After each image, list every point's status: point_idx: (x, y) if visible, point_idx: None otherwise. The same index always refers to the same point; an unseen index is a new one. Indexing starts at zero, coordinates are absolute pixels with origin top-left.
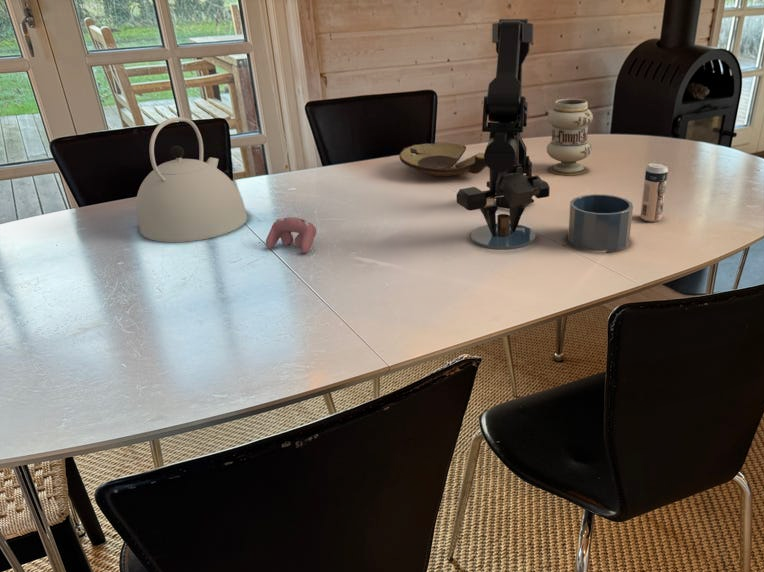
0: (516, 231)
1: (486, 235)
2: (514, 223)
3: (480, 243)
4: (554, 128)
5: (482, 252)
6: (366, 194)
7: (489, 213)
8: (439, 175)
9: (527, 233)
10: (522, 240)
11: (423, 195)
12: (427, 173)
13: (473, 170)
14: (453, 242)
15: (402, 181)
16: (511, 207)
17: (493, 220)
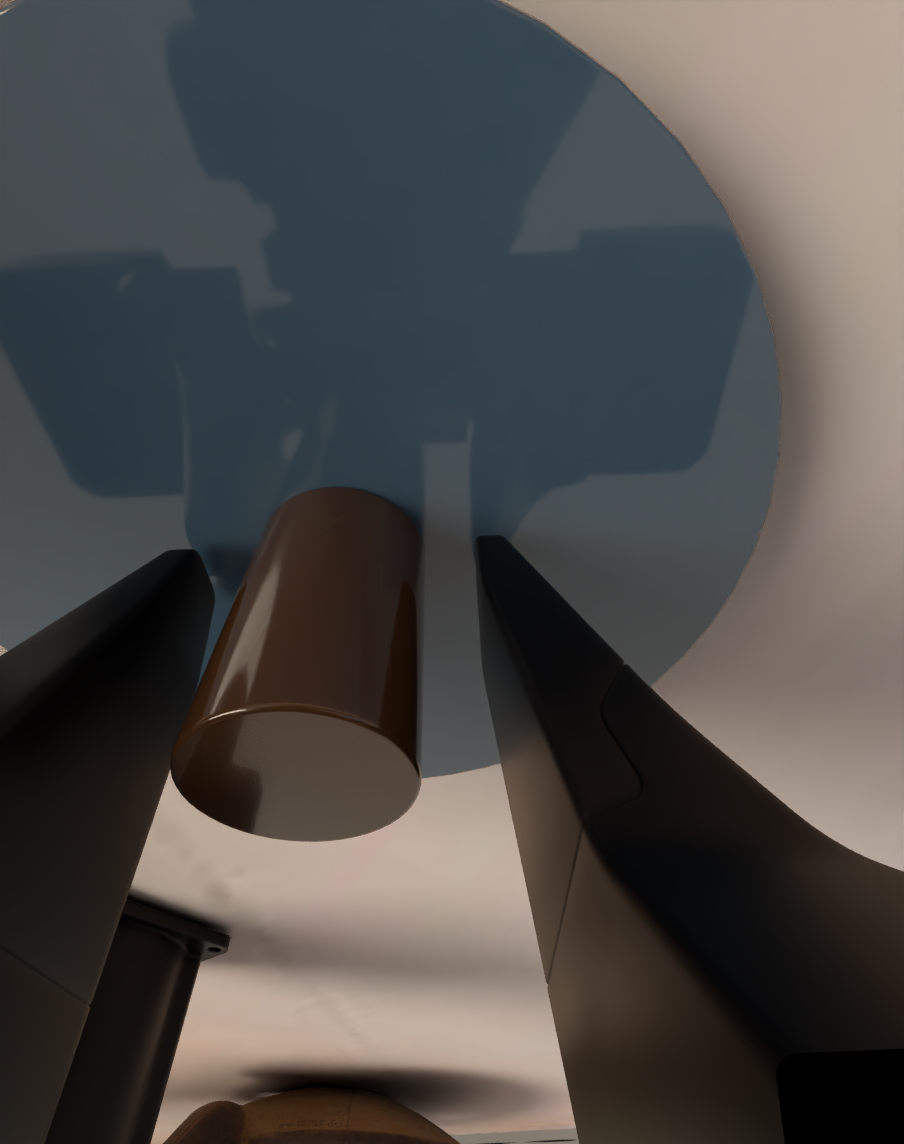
0: None
1: None
2: (130, 625)
3: (779, 415)
4: None
5: (823, 243)
6: None
7: (856, 865)
8: (367, 1100)
9: None
10: (102, 200)
11: (499, 1032)
12: (412, 1115)
13: (225, 1123)
14: (823, 637)
15: (501, 1081)
16: (61, 947)
17: (590, 692)
